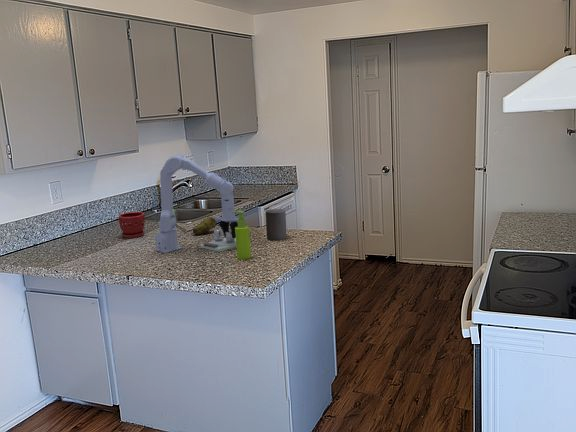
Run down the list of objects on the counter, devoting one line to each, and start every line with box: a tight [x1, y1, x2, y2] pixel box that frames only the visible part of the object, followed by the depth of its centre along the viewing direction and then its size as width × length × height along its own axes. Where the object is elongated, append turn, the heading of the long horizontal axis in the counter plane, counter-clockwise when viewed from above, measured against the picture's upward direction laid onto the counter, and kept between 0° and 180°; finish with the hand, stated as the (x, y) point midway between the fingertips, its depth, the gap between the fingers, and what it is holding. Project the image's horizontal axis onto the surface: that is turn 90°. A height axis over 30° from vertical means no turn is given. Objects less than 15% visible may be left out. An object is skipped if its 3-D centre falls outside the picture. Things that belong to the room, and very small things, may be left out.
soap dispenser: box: [233, 210, 252, 260], centre depth 234 cm, size 6×7×20 cm
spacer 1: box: [213, 228, 224, 241], centre depth 262 cm, size 4×4×5 cm
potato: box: [192, 216, 217, 236], centre depth 288 cm, size 8×13×8 cm, turn 110°
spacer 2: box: [225, 229, 235, 243], centre depth 255 cm, size 4×4×5 cm
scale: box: [198, 237, 237, 253], centre depth 259 cm, size 16×15×2 cm
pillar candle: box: [264, 208, 288, 242], centre depth 265 cm, size 10×10×15 cm
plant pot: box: [118, 211, 146, 239], centre depth 291 cm, size 13×13×12 cm
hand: (230, 237), depth 256 cm, fingers closed on spacer 2, 4 cm apart
